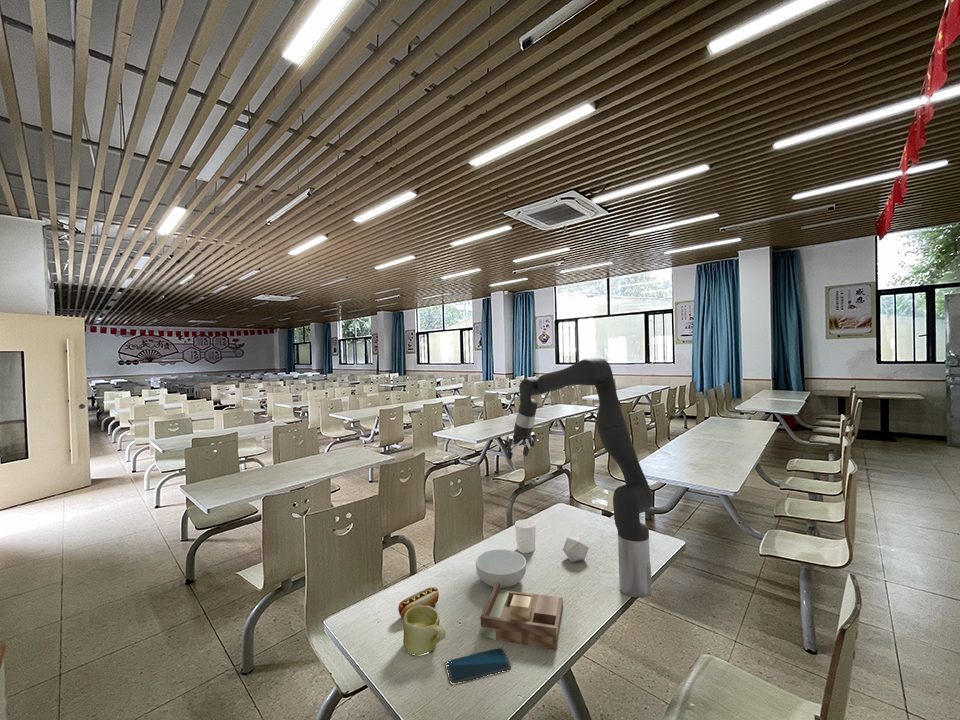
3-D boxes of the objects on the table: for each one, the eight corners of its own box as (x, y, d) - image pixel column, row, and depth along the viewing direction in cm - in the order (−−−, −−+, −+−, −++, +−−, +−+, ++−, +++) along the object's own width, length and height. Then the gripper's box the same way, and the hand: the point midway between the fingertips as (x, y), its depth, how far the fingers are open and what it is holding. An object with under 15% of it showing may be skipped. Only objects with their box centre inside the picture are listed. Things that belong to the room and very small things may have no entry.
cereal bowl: (520, 599, 129) (519, 577, 128) (469, 591, 134) (468, 570, 134) (531, 571, 145) (530, 551, 145) (485, 565, 150) (485, 546, 150)
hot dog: (443, 605, 127) (442, 589, 127) (405, 625, 118) (404, 608, 118) (433, 598, 131) (432, 583, 131) (396, 618, 122) (395, 601, 122)
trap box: (563, 607, 124) (562, 589, 124) (556, 649, 107) (556, 628, 106) (497, 598, 129) (496, 581, 129) (481, 637, 112) (480, 617, 112)
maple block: (532, 614, 116) (531, 596, 116) (529, 626, 111) (528, 607, 111) (514, 612, 118) (513, 594, 118) (510, 623, 113) (509, 605, 113)
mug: (388, 640, 110) (401, 602, 110) (419, 633, 117) (431, 598, 117) (413, 674, 101) (427, 633, 101) (445, 665, 108) (457, 627, 108)
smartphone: (512, 671, 100) (512, 667, 100) (450, 687, 96) (450, 683, 96) (502, 650, 108) (502, 646, 108) (444, 664, 104) (444, 660, 104)
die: (586, 568, 146) (595, 541, 150) (564, 557, 146) (573, 530, 150) (577, 566, 154) (586, 540, 158) (556, 555, 154) (565, 530, 158)
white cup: (520, 555, 156) (519, 529, 156) (512, 546, 164) (512, 521, 164) (539, 552, 158) (538, 525, 158) (531, 543, 166) (530, 518, 166)
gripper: (516, 429, 166) (509, 464, 171) (543, 424, 174) (535, 458, 179) (505, 420, 172) (498, 455, 177) (532, 416, 180) (524, 449, 185)
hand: (517, 456), depth 178 cm, fingers open, 8 cm apart
